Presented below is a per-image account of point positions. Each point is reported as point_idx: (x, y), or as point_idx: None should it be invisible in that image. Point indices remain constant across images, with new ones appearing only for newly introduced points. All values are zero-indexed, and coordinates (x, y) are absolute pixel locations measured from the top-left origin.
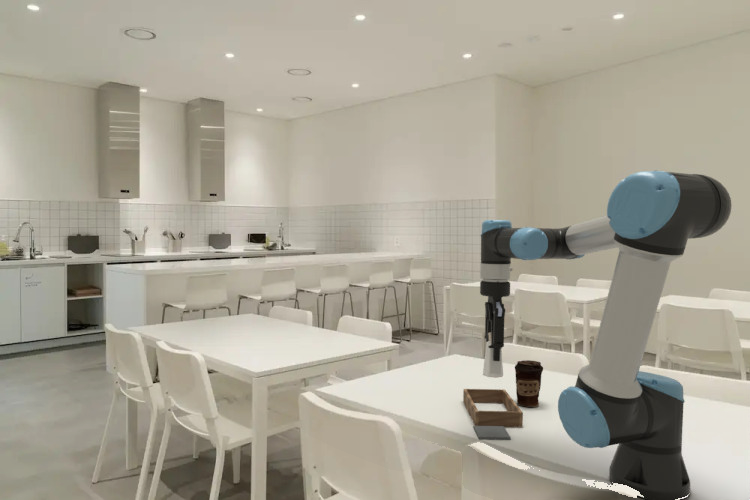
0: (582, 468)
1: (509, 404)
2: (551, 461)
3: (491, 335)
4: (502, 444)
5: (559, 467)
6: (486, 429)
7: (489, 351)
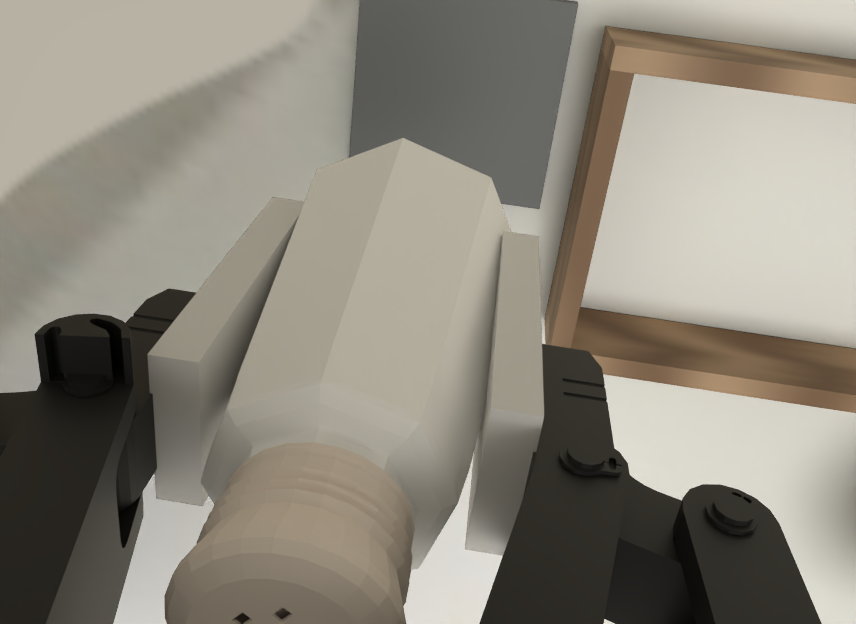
0: (15, 358)
1: (834, 373)
2: (71, 265)
3: (46, 515)
4: (280, 101)
5: (7, 270)
6: (493, 75)
7: (263, 326)
